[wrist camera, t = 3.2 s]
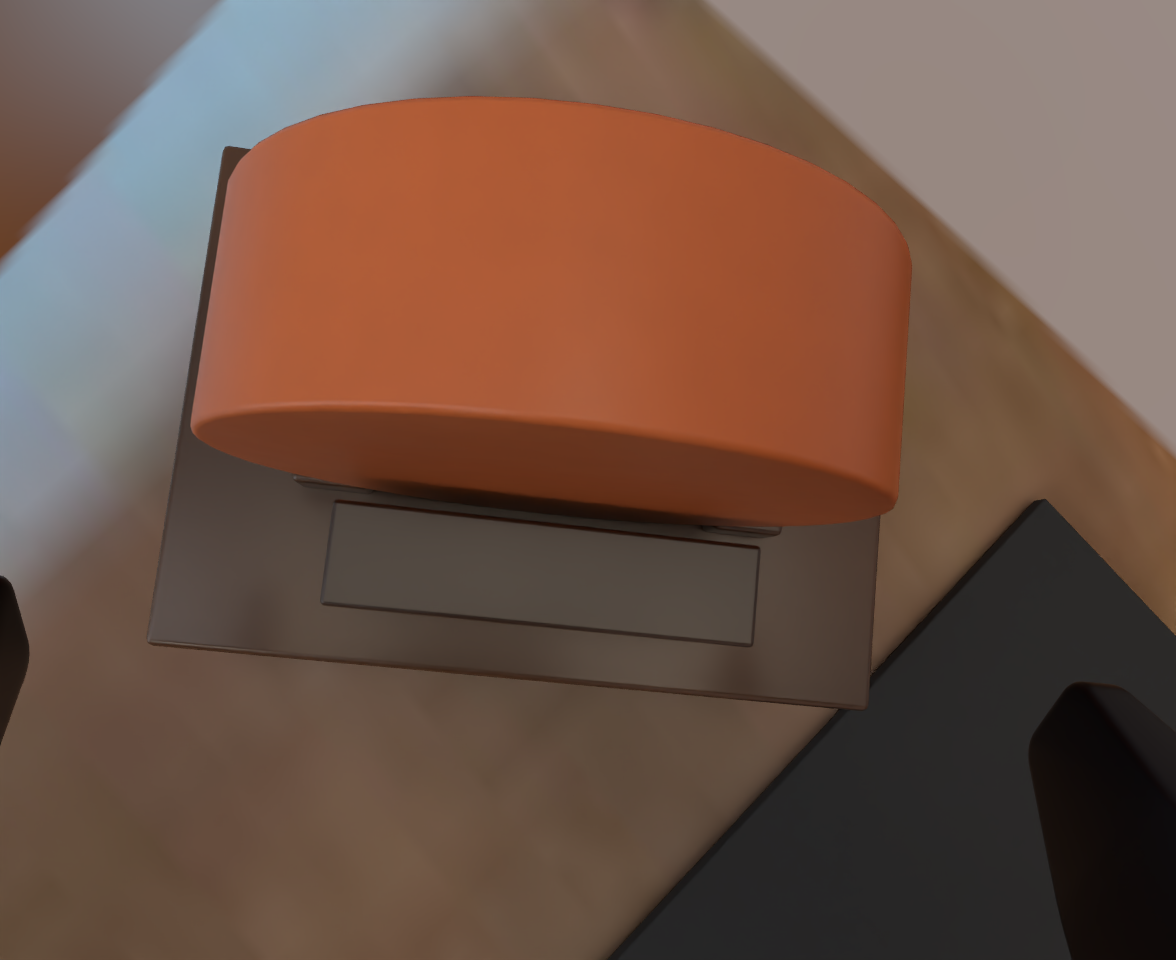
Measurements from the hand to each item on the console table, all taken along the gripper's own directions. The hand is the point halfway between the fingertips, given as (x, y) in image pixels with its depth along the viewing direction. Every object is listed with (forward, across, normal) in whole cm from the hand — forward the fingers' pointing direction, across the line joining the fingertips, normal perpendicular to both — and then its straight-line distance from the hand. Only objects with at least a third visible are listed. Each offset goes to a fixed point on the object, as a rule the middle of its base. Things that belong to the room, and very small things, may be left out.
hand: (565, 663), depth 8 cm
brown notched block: (+9, 0, +5) cm, 10 cm away
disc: (+6, 0, +2) cm, 6 cm away
